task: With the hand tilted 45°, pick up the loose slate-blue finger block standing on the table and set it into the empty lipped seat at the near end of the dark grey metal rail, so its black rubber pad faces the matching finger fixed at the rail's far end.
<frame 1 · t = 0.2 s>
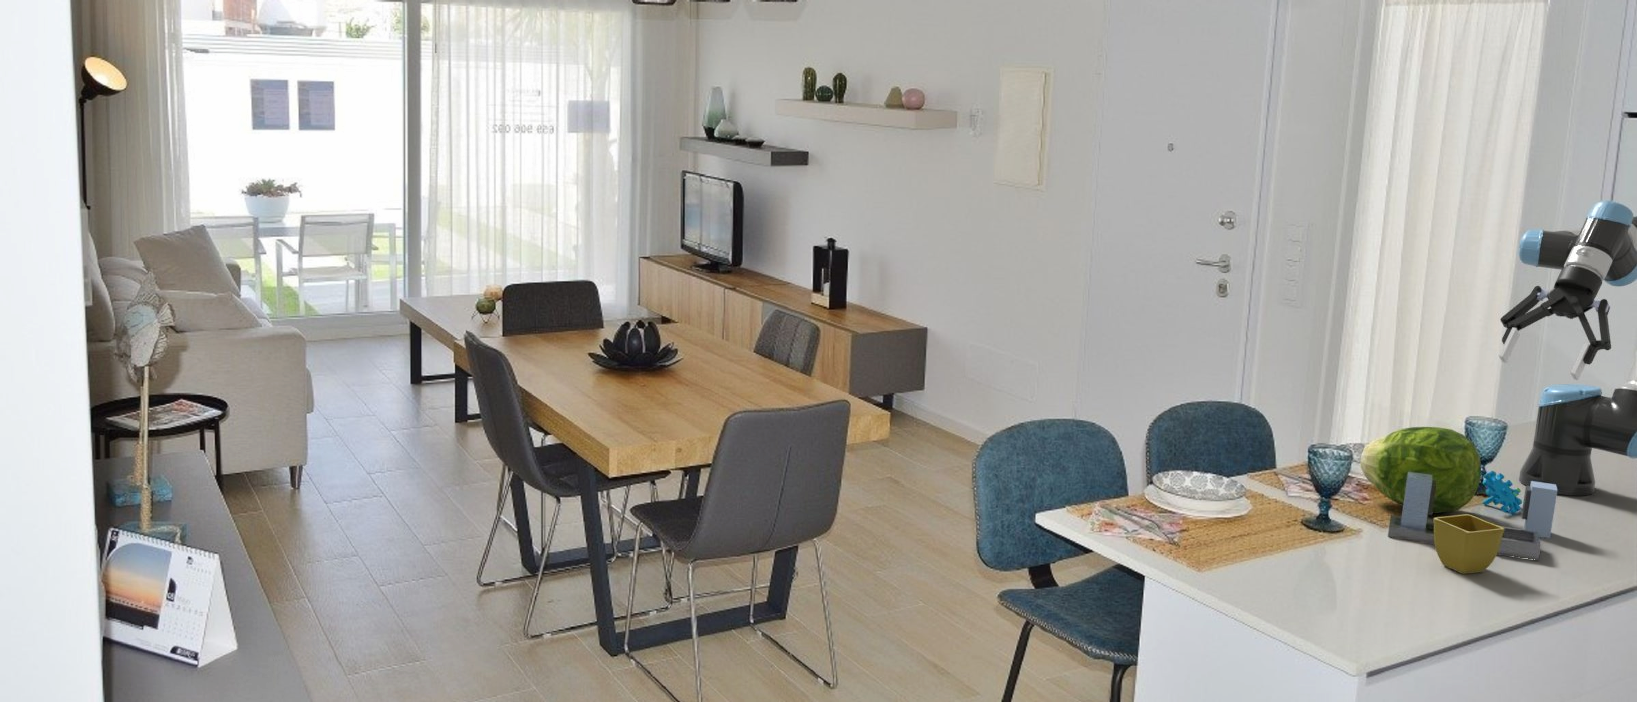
hand: (1537, 367, 269), 35 cm above the counter, tool tilted 35°, fingers open, 13 cm apart
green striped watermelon: (1413, 509, 295), on the counter
flower pot: (1462, 569, 260), on the counter
blue finger: (1536, 533, 282), on the counter
rail: (1461, 542, 274), on the counter
blue lobed piece: (1500, 510, 297), on the counter
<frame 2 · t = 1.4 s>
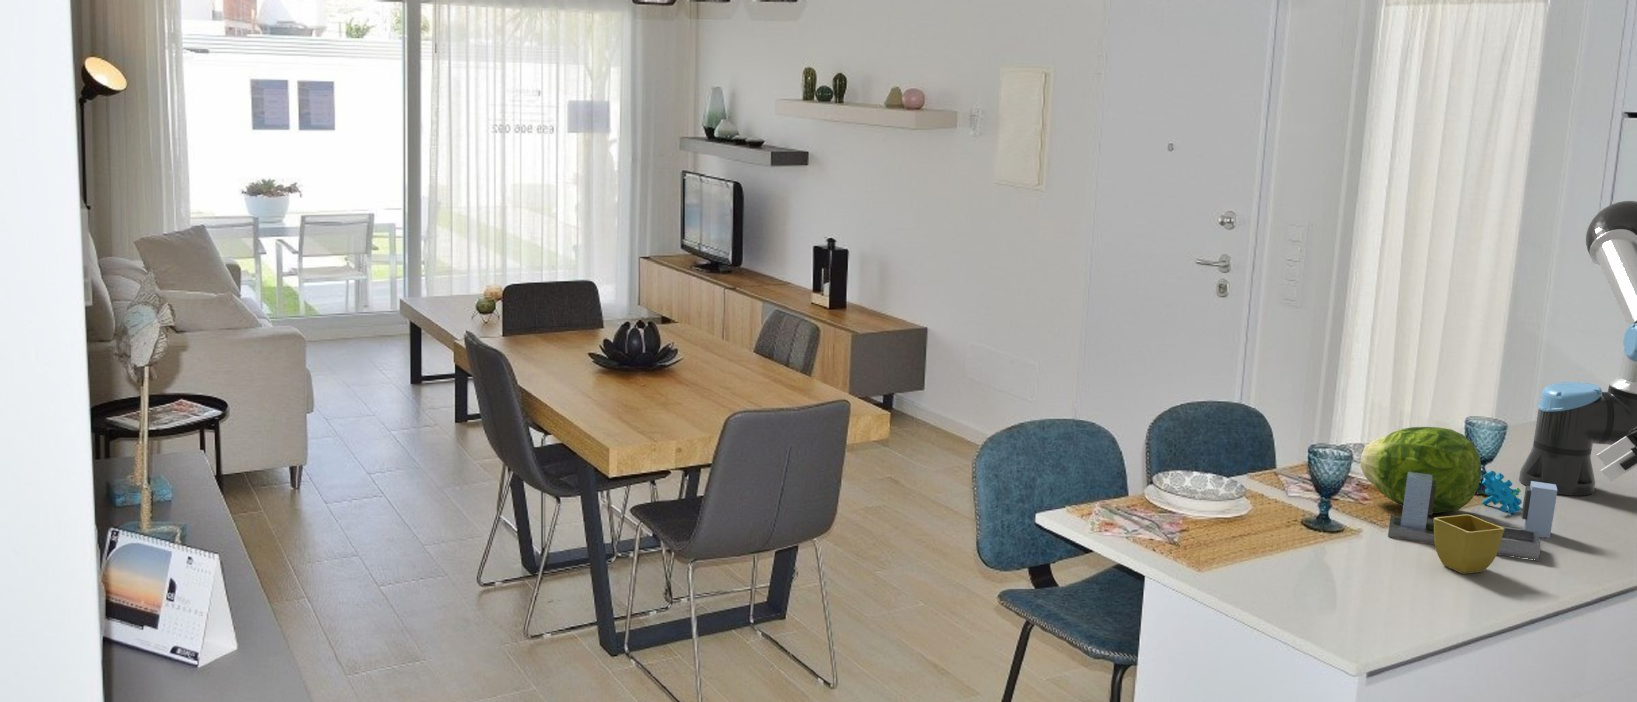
hand: (1603, 468, 275), 15 cm above the counter, tool tilted 45°, fingers open, 13 cm apart
nothing on the counter moved.
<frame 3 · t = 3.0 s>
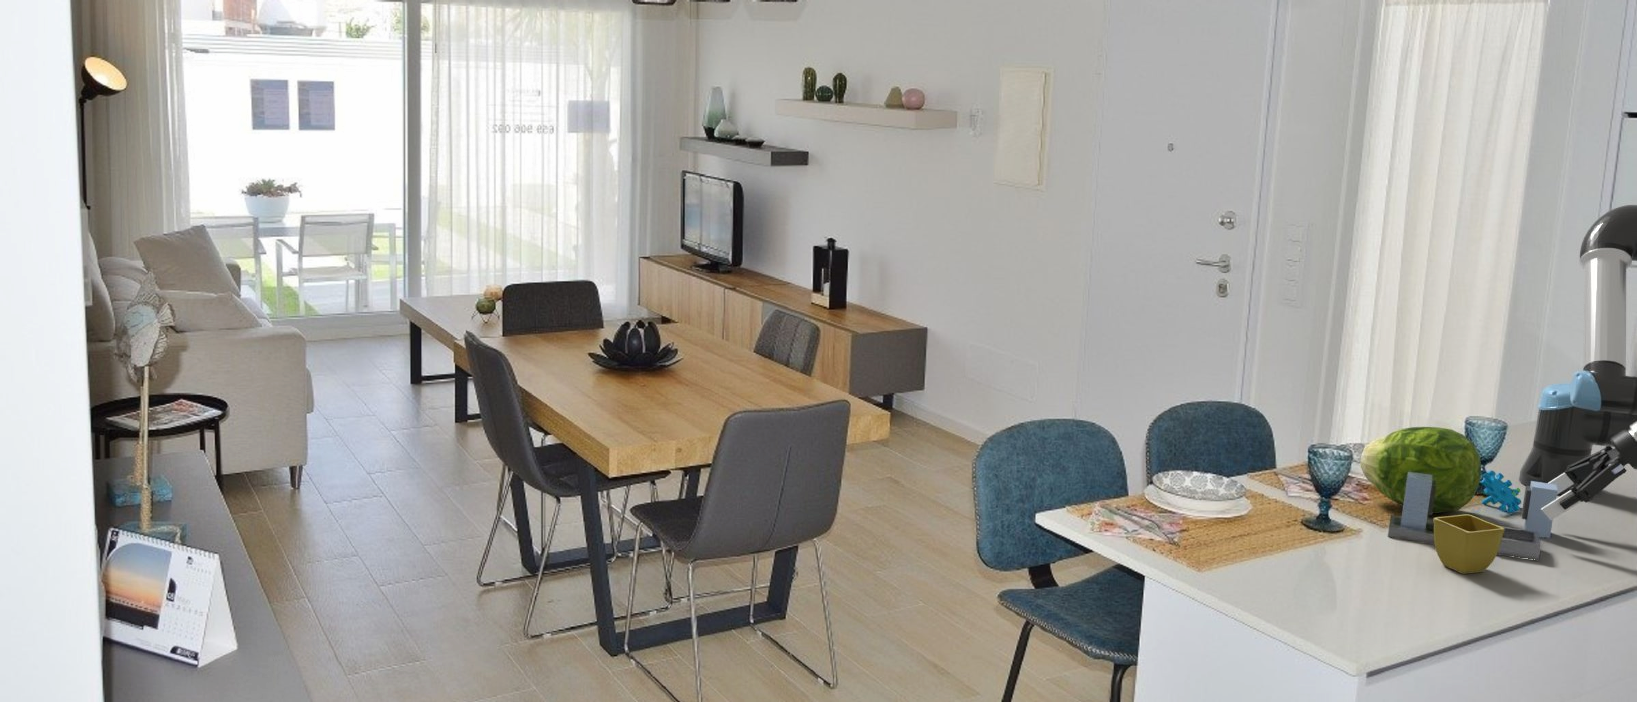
hand: (1542, 505, 280), 6 cm above the counter, tool tilted 45°, fingers open, 13 cm apart
nothing on the counter moved.
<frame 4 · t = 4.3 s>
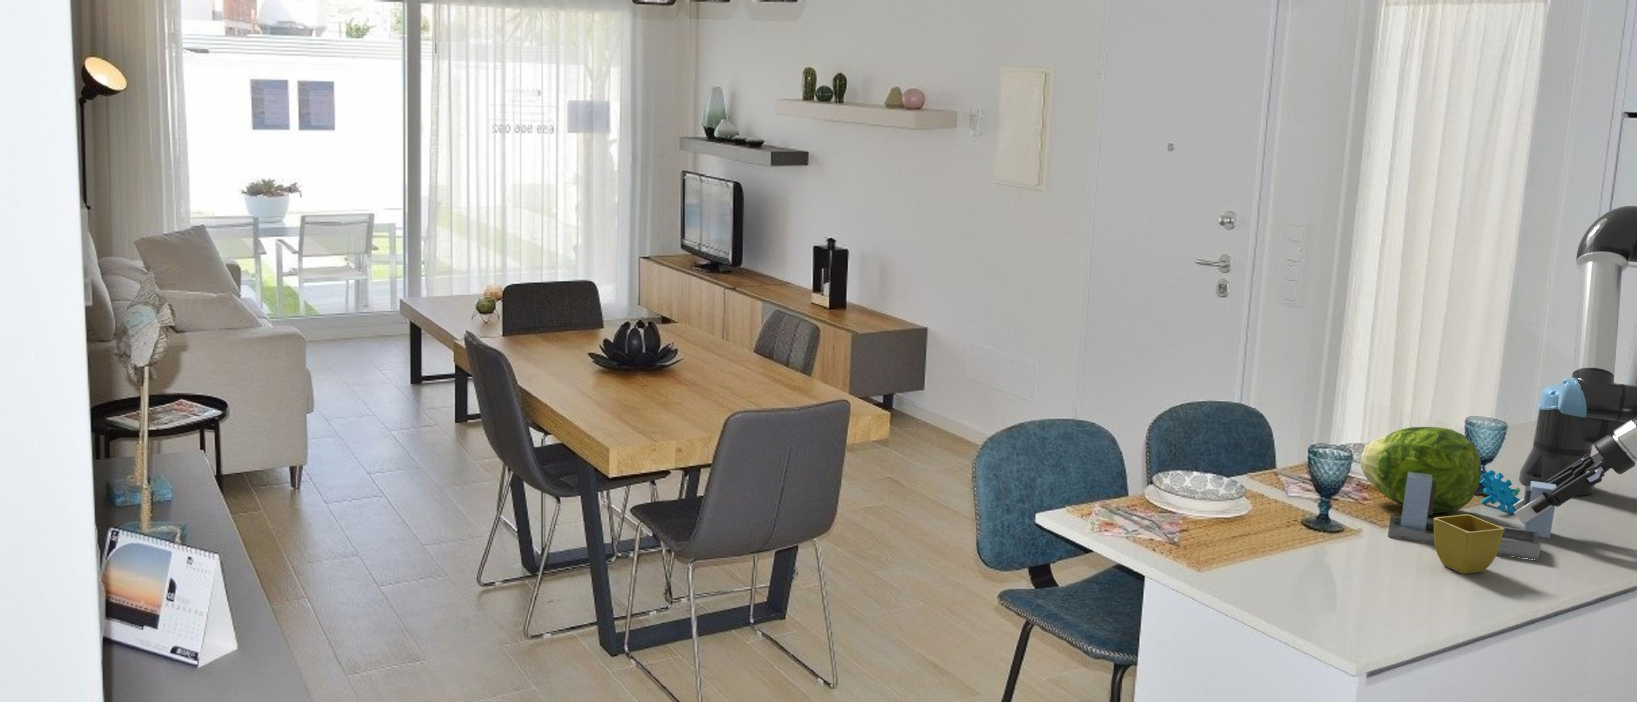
hand: (1518, 514, 283), 3 cm above the counter, tool tilted 45°, fingers closed on blue finger, 4 cm apart
blue finger: (1536, 533, 282), on the counter, touching gripper
everything else where it was.
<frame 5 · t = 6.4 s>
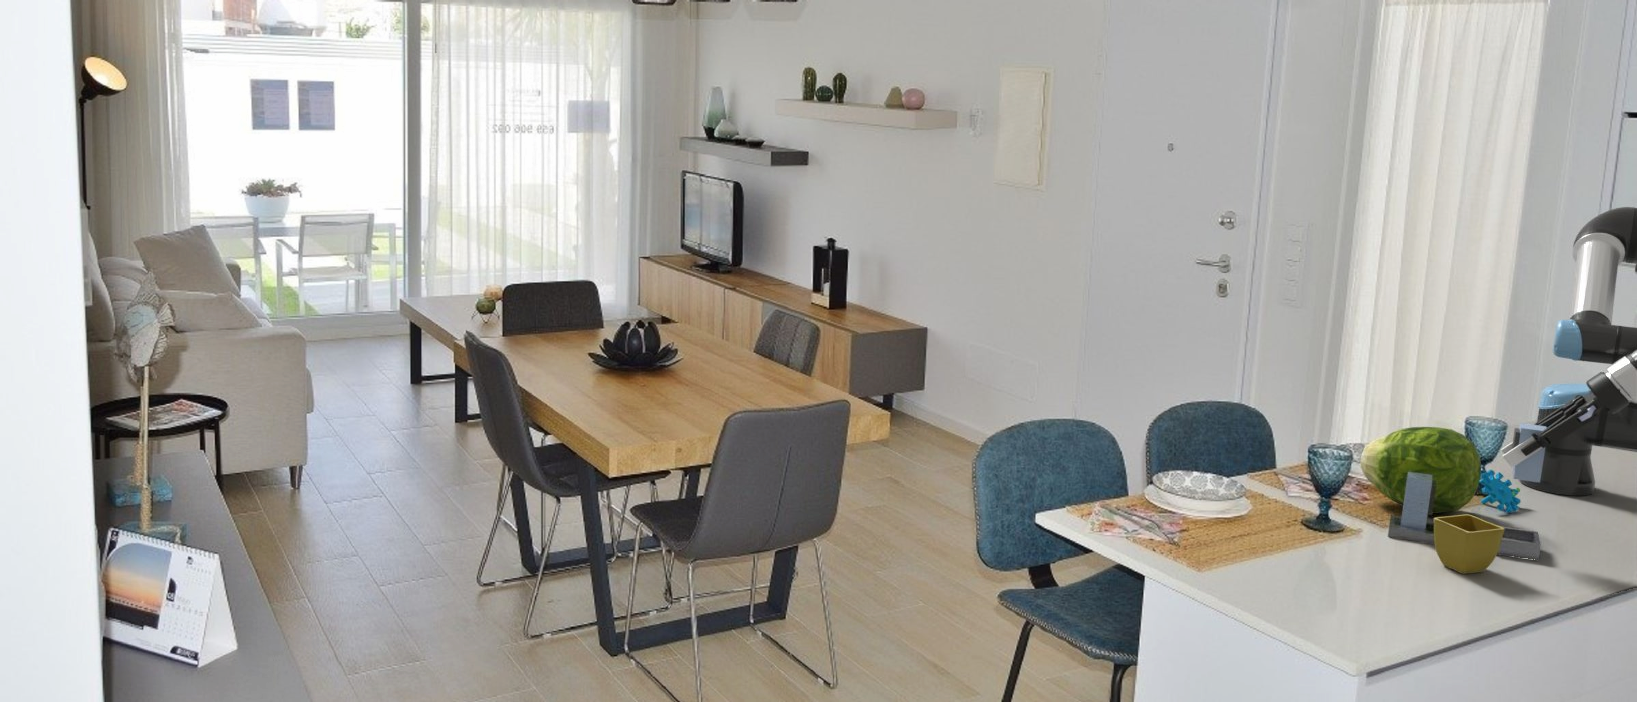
hand: (1506, 458, 269), 18 cm above the counter, tool tilted 45°, fingers closed on blue finger, 4 cm apart
blue finger: (1526, 477, 268), point 15 cm above the counter, touching gripper
everything else where it was.
when the fingers open (7 cm above the counter, at t = 8.7 s): blue finger drops 1 cm, resting on rail.
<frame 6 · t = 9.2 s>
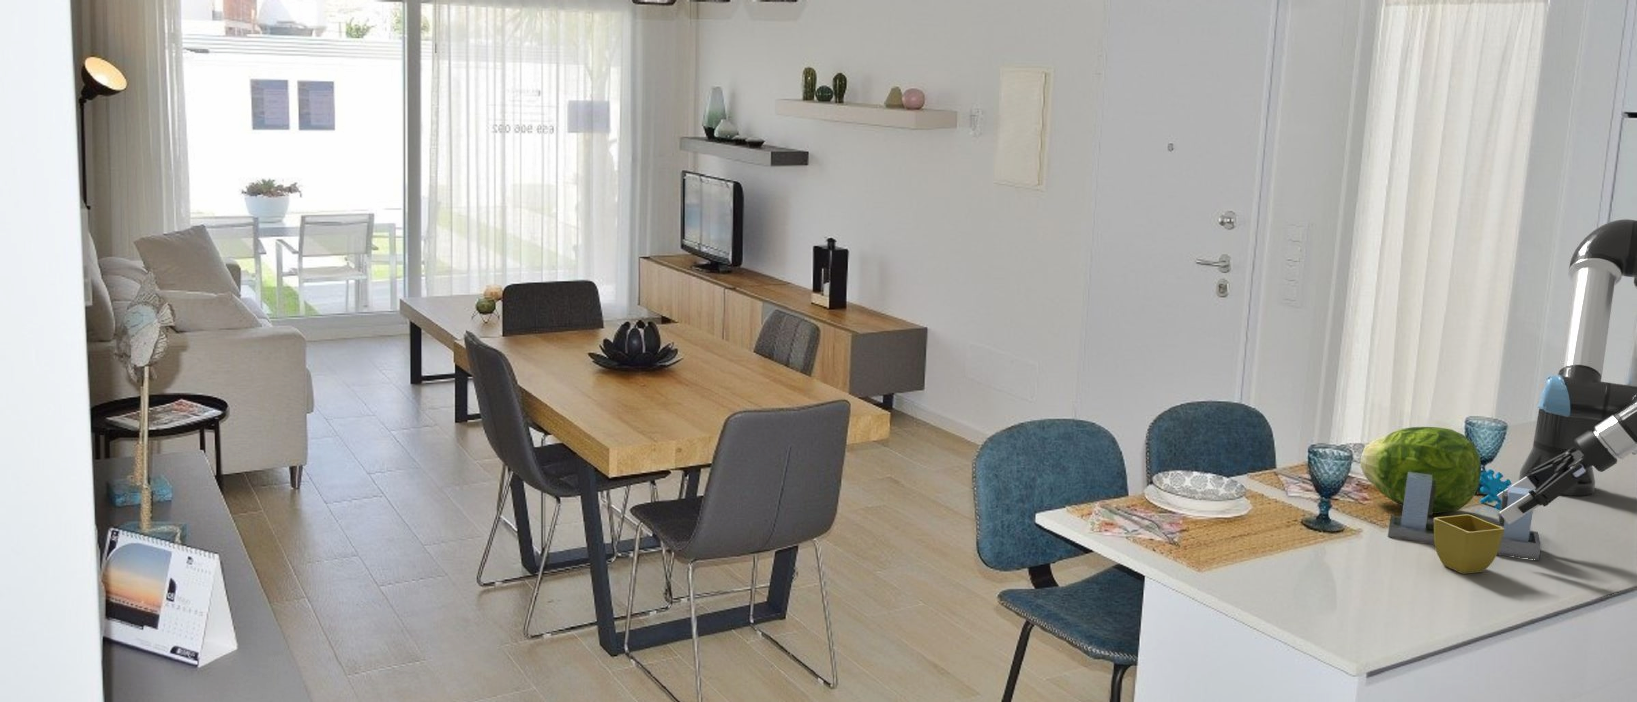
hand: (1502, 509, 270), 8 cm above the counter, tool tilted 45°, fingers open, 11 cm apart
blue finger: (1513, 540, 271), point 2 cm above the counter, touching rail
everything else where it was.
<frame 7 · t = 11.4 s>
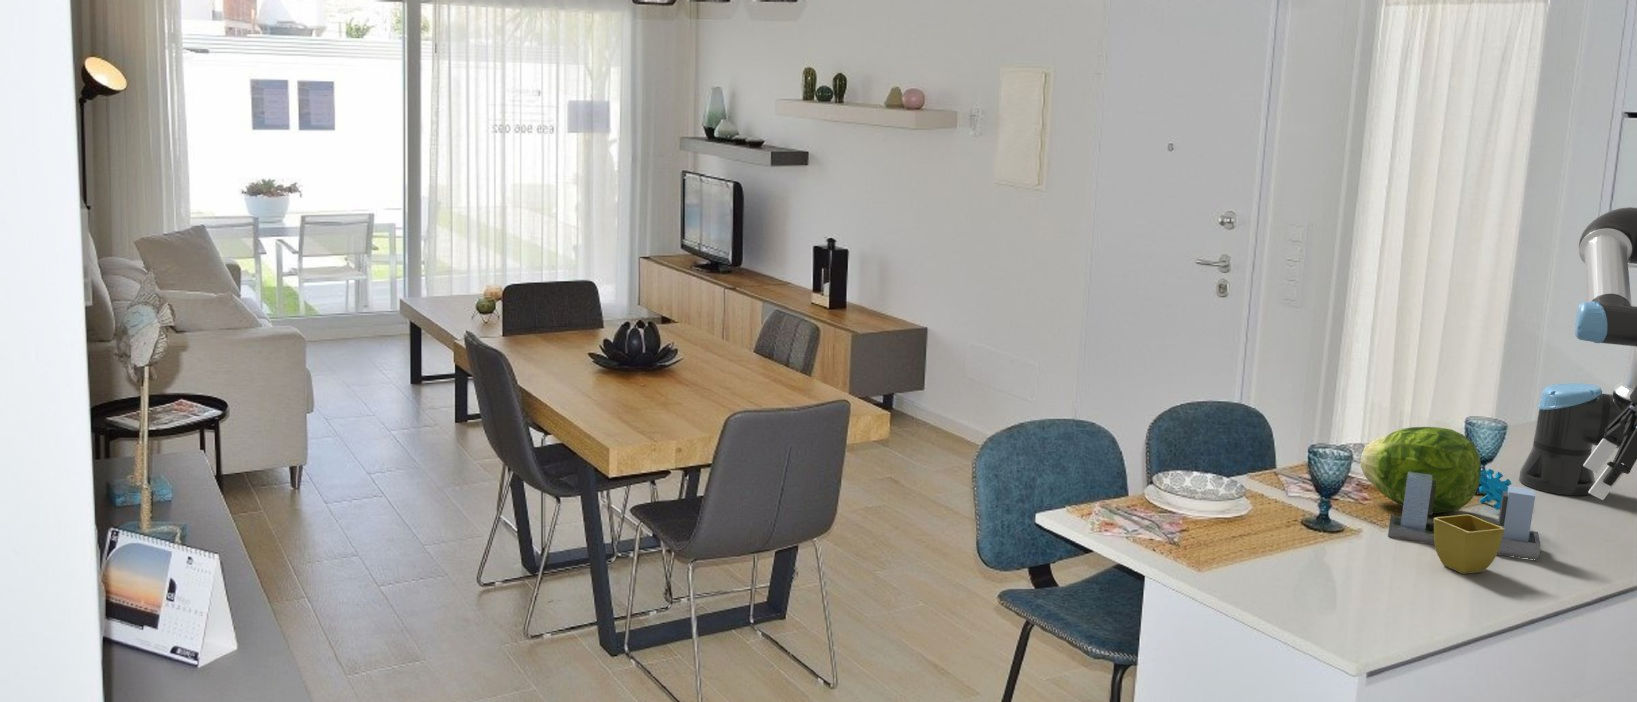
hand: (1592, 482, 266), 15 cm above the counter, tool tilted 25°, fingers open, 13 cm apart
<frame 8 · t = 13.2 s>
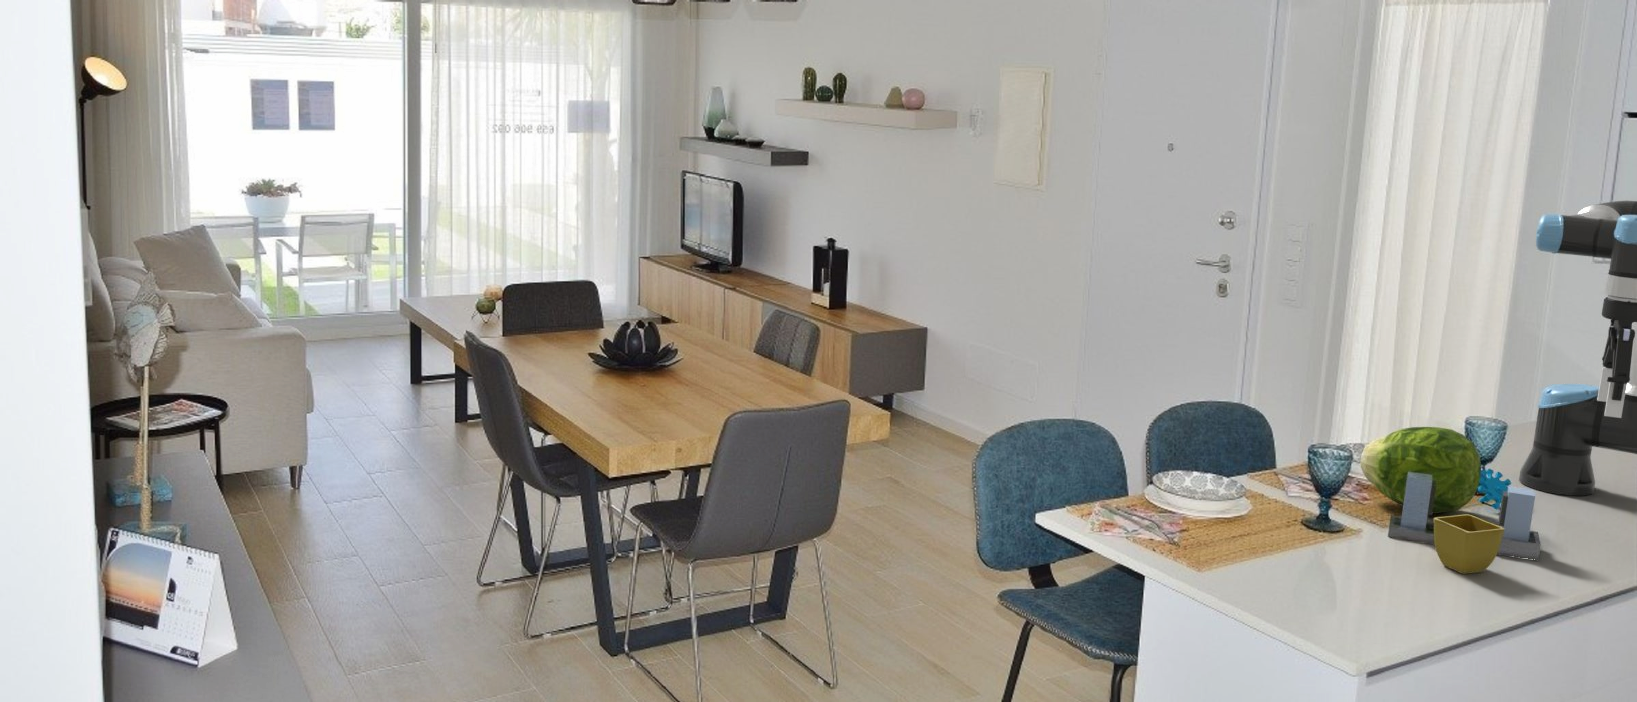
hand: (1608, 409, 266), 29 cm above the counter, tool pointing down, fingers open, 13 cm apart
at the end: blue finger 0.0 cm from the target spot on the rail, point 2.0 cm above the rail's base; blue finger tilted 0°; the gripper is holding nothing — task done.
